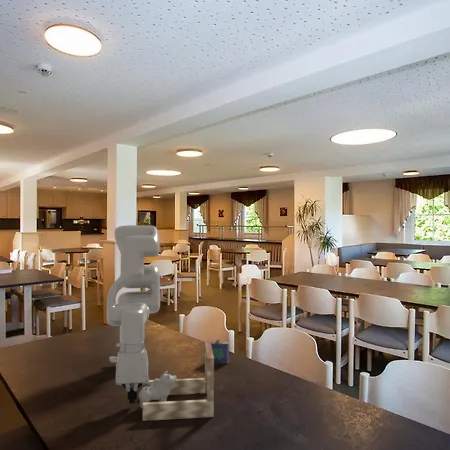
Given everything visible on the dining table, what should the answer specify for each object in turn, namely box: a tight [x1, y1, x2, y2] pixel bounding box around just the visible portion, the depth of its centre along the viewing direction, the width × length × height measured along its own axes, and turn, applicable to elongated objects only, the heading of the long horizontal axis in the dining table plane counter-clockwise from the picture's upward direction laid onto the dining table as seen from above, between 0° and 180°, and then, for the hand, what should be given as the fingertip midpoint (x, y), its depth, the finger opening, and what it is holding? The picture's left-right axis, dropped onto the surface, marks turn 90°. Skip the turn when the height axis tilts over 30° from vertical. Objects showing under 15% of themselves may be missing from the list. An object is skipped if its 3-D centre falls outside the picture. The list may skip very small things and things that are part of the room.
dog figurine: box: [138, 370, 177, 409], centre depth 115 cm, size 5×13×11 cm, turn 122°
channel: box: [142, 339, 215, 422], centre depth 116 cm, size 22×16×19 cm
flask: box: [211, 338, 230, 365], centre depth 150 cm, size 9×3×11 cm, turn 88°
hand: (132, 401), depth 114 cm, fingers closed
